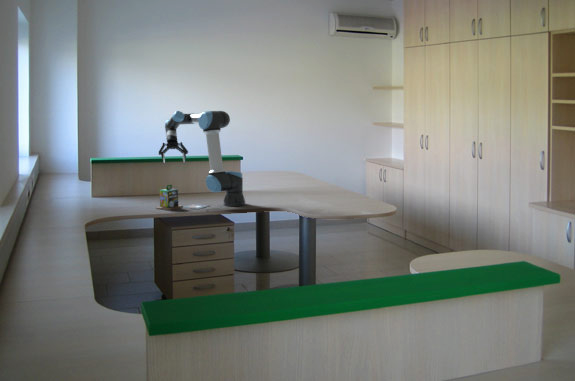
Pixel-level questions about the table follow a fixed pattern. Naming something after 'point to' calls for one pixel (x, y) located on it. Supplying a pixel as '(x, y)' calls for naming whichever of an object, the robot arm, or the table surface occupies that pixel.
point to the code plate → (195, 206)
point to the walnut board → (169, 208)
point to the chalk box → (168, 197)
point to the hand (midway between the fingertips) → (174, 161)
